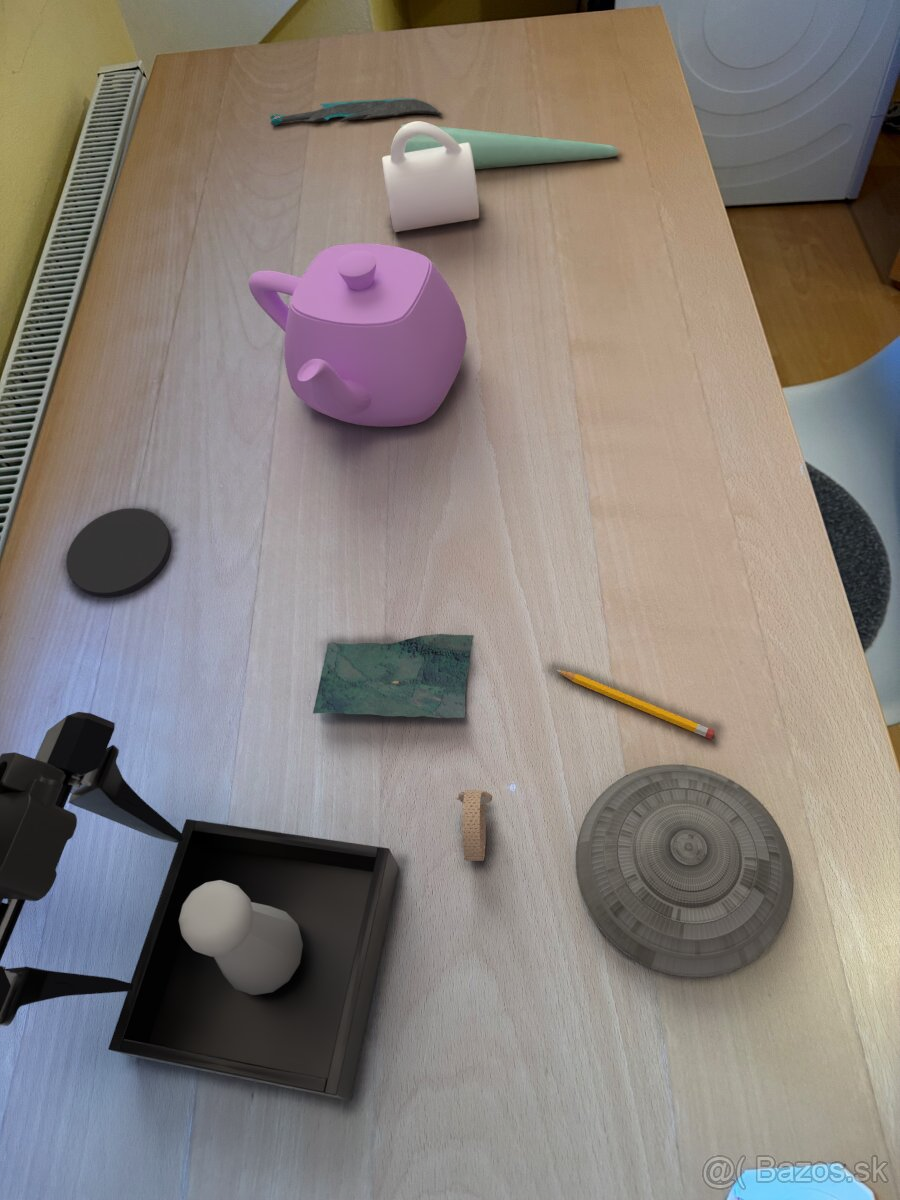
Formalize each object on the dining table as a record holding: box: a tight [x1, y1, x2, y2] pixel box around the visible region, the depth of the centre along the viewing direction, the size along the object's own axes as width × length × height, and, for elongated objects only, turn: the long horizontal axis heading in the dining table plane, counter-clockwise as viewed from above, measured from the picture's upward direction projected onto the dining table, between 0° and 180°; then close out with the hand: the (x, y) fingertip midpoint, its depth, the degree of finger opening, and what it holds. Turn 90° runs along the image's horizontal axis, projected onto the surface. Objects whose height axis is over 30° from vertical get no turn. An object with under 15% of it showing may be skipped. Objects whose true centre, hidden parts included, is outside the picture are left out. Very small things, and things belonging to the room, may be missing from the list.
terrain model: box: [312, 633, 474, 719], centre depth 75 cm, size 13×8×2 cm, turn 86°
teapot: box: [248, 243, 468, 427], centre depth 88 cm, size 23×21×15 cm
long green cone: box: [400, 123, 619, 170], centre depth 112 cm, size 5×6×27 cm
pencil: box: [556, 669, 715, 740], centre depth 72 cm, size 1×13×1 cm, turn 61°
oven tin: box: [108, 818, 400, 1102], centre depth 63 cm, size 16×16×4 cm
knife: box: [269, 98, 443, 127], centre depth 125 cm, size 24×1×5 cm
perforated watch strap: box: [455, 789, 493, 862], centre depth 66 cm, size 3×5×5 cm, turn 178°
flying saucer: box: [575, 764, 795, 978], centre depth 63 cm, size 15×15×6 cm
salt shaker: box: [179, 880, 303, 995], centre depth 59 cm, size 6×6×13 cm
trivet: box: [66, 507, 172, 598], centre depth 87 cm, size 10×10×1 cm
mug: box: [381, 120, 480, 233], centre depth 105 cm, size 8×10×12 cm
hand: (156, 910), depth 57 cm, fingers open, 9 cm apart
